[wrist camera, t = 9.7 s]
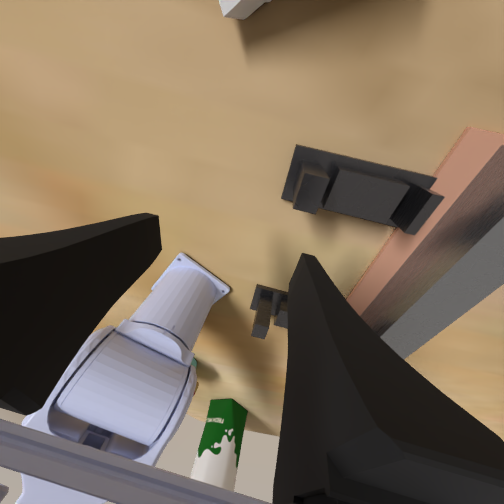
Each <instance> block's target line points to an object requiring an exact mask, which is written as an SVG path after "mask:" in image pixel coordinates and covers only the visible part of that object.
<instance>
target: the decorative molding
mask: <svg viewBox="0 0 504 504" xmlns="http://www.w3.org/2000/svg"><path fill="white" fill-rule="evenodd" d="M270 1H272V0H219V3H220V6H221V10H222V13H223V16H224V17H228V18H235V19H241V20H244V19H246V18H247V17H248V16H250V15H251V14H252V13H253V12H254V11H255V10H257V9H258V8H259V7H260V6H261V5H262V4H263V3H265V2H270Z"/></svg>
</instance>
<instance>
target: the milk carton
mask: <svg viewBox="0 0 504 504" xmlns="http://www.w3.org/2000/svg"><path fill="white" fill-rule="evenodd" d="M247 412H248V411H247V410H245V409H244V408H243V407H242V406H240V405H239V404H238V403H237V402H235V401H234V400H233V399H220V400H211V401H210V406H209V411H208V415H207V420H206V424H205V428H204V431H203V435H202V438H201V442H200V445H199V448H198V452H197V455H196V459H195V462H194V465H193V469H192V472H191V476H190V478H191V479H195V480H198V481H201V482H204V483H208V484H211V485H214V486H217V487H220V488H224V489H227V490H230V491H233V492H234V487H235V481H236V474H237V467H238V462H239V456H240V450H241V444H242V437H243V432H244V427H245V422H246V417H247Z"/></svg>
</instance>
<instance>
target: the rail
mask: <svg viewBox="0 0 504 504" xmlns="http://www.w3.org/2000/svg"><path fill="white" fill-rule="evenodd" d="M503 284H504V145H501V146H500V147H499V149H498V150H497V151H496V152H495V153H494V155H493V156H492V157H491V158H490V160H489V161H488V162H487V163H486V164H485V166H484V167H483V168H482V169H481V170H480V172H479V173H478V174H477V175H476V176H475V178H474V179H473V180H472V181H471V183H470V184H469V185H468V186H467V187H466V189H465V190H464V191H463V192H462V193H461V195H460V196H459V197H458V198H457V199H456V201H455V202H454V203H453V204H452V205H451V207H450V208H449V209H448V210H447V212H446V213H445V214H444V215H443V216H442V218H441V219H440V220H439V221H438V222H437V224H436V225H435V226H434V227H433V228H432V230H431V231H430V232H429V233H428V235H427V236H426V237H425V238H424V239H423V241H422V242H421V243H420V244H419V245H418V247H417V248H416V249H415V250H414V251H413V253H412V254H411V255H410V256H409V257H408V259H407V260H406V261H405V262H404V264H403V265H402V266H401V267H400V268H399V270H398V271H397V272H396V273H395V274H394V276H393V277H392V278H391V279H390V280H389V282H388V283H387V284H386V285H385V286H384V288H383V289H382V290H381V291H380V293H379V294H378V295H377V296H376V297H375V299H374V300H373V301H372V302H371V303H370V305H369V306H368V307H367V308H366V309H365V311H364V312H363V313H362V314H361V316H360V317H361V318H362V319H363V320H364V321H365V322H366V323H367V324H368V325H369V327H370V328H371V329H372V330H373V331H374V332H375V333H376V334H377V335H378V336H379V337H380V338H381V339H382V340H383V341H384V342H385V343H386V344H387V345H389V346H390V347H391V348H392V349H393V350H394V351H395V352H396V353H397V354H398V355H399V356H400V357H401V358H402V359H405V358H406V357H408V356H409V355H410V354H412V353H413V352H414V351H416V350H417V349H418V348H420V347H421V346H422V345H424V344H425V343H426V342H428V341H429V340H430V339H432V338H433V337H434V336H435V335H437V334H438V333H439V332H441V331H442V330H443V329H445V328H446V327H447V326H449V325H450V324H451V323H453V322H454V321H455V320H457V319H458V318H459V317H461V316H462V315H463V314H464V313H466V312H467V311H468V310H470V309H471V308H472V307H474V306H475V305H476V304H478V303H479V302H480V301H482V300H483V299H484V298H486V297H487V296H488V295H490V294H491V293H492V292H493V291H495V290H496V289H497V288H499V287H500V286H501V285H503Z"/></svg>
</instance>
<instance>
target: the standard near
mask: <svg viewBox="0 0 504 504" xmlns="http://www.w3.org/2000/svg"><path fill="white" fill-rule="evenodd" d="M436 180H437V178H436V177H433V176H429V175H425V174H421V173H417V172H412V171H408V170H404V169H400V168H395V167H391V166H387V165H382V164H378V163H374V162H370V161H365V160H361V159H357V158H353V157H348V156H344V155H340V154H336V153H331V152H327V151H323V150H319V149H314V148H310V147H306V146H302V145H297V144H296V147H295V151H294V154H293V158H292V161H291V165H290V169H289V172H288V176H287V179H286V183H285V186H284V190H283V193H282V197H281V199H285V200H289V201H293V209H296V210H300V211H304V212H308V213H312V214H316V212H317V209H318V208H321V209H325V210H329V211H333V212H337V213H342V214H346V215H350V216H354V217H358V218H362V219H366V220H370V221H374V222H378V223H382V224H386V225H390V226H394V227H398V228H400V229H401V230H402V231H403V232H404V233H406V234H410V235H414V236H415V235H416V234H417V232H418V231H419V230H420V228H421V227H422V226H423V225H424V223H425V222H426V221H427V220H428V218H429V217H430V216H431V214H432V213H433V212H434V211H435V209H436V208H437V207H438V206H439V204H440V203H441V202H442V200H443V199H444V198H445V197H444V196H442V195H440V194H438V193H436V192H434V191H432V190H430V188H431V187H432V185H433V184H434V183H435V181H436Z"/></svg>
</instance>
